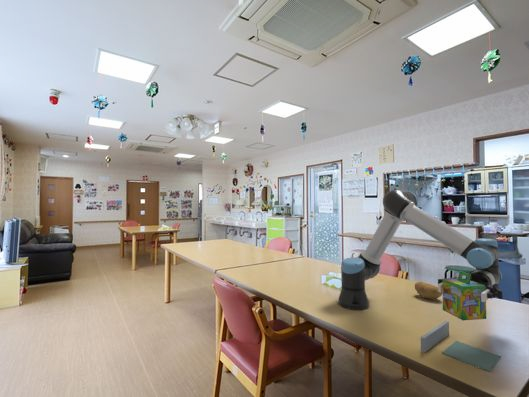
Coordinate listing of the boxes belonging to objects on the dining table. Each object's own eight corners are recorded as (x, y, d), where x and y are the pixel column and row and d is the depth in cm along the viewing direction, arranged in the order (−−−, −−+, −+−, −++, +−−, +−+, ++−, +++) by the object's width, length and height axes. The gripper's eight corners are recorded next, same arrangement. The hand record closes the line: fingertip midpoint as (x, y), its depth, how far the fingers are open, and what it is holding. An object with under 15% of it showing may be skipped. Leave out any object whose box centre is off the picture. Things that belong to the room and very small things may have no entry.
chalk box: (442, 310, 98) (440, 270, 98) (464, 309, 99) (463, 269, 100) (463, 321, 89) (461, 276, 89) (488, 319, 90) (486, 275, 90)
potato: (436, 304, 139) (436, 288, 139) (411, 296, 151) (410, 281, 151) (447, 300, 143) (446, 285, 143) (421, 293, 156) (421, 279, 156)
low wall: (420, 351, 95) (420, 337, 95) (445, 332, 108) (445, 320, 108) (424, 352, 94) (424, 338, 94) (449, 334, 107) (448, 321, 107)
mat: (442, 353, 94) (442, 352, 94) (456, 341, 101) (456, 340, 101) (489, 371, 83) (489, 370, 83) (500, 357, 91) (500, 356, 91)
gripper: (522, 299, 95) (506, 314, 82) (445, 283, 115) (422, 294, 102) (521, 277, 95) (505, 290, 82) (444, 266, 115) (422, 274, 102)
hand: (459, 292), depth 92 cm, fingers closed on chalk box, 12 cm apart
